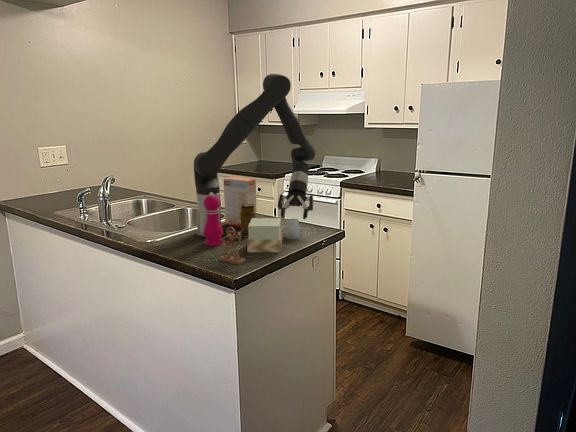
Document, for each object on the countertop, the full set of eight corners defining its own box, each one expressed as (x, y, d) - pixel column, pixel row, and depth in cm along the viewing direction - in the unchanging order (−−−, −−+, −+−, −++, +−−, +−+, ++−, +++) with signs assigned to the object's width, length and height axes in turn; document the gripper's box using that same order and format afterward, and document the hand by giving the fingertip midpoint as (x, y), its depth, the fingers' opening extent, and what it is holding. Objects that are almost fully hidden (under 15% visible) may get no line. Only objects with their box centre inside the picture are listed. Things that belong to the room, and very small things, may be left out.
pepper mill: (214, 239, 172) (212, 189, 167) (227, 243, 167) (225, 191, 162) (200, 244, 166) (197, 192, 162) (213, 247, 162) (210, 195, 157)
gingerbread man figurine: (218, 260, 149) (216, 226, 146) (226, 256, 152) (224, 223, 149) (239, 265, 144) (237, 230, 141) (246, 261, 148) (245, 227, 145)
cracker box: (257, 226, 190) (256, 178, 185) (248, 229, 186) (246, 180, 180) (234, 221, 198) (232, 175, 193) (224, 224, 194) (222, 177, 188)
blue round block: (286, 239, 171) (285, 222, 170) (286, 235, 176) (286, 218, 175) (298, 239, 171) (298, 222, 170) (298, 235, 176) (298, 218, 174)
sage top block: (248, 239, 156) (248, 226, 155) (252, 230, 167) (251, 218, 166) (279, 239, 156) (279, 226, 155) (280, 230, 167) (280, 218, 165)
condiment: (252, 230, 184) (251, 202, 182) (261, 235, 177) (260, 206, 174) (236, 232, 181) (235, 204, 178) (245, 237, 174) (244, 208, 171)
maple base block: (247, 253, 157) (247, 239, 156) (251, 242, 169) (250, 230, 167) (280, 253, 157) (280, 239, 155) (282, 243, 168) (282, 230, 167)
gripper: (280, 179, 180) (274, 212, 172) (314, 179, 177) (310, 213, 169) (283, 189, 187) (277, 222, 179) (316, 190, 184) (312, 223, 176)
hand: (293, 218), depth 174 cm, fingers open, 8 cm apart
